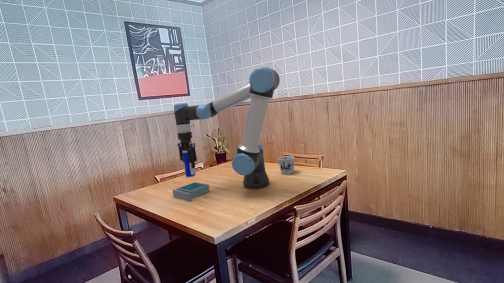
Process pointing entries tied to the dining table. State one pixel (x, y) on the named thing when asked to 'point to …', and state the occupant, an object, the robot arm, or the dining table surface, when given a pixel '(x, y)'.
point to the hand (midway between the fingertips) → (190, 173)
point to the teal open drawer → (195, 188)
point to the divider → (182, 195)
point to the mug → (286, 164)
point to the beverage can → (187, 164)
